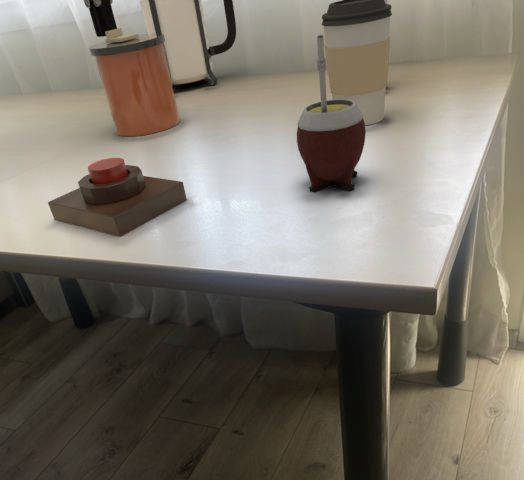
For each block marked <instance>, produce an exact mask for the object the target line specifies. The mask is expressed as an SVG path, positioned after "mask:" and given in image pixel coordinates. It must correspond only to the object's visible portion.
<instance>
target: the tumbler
mask: <svg viewBox="0 0 524 480" xmlns="http://www.w3.org/2000/svg"><path fill="white" fill-rule="evenodd" d="M138 36H139V37H138V38H134V39H131V40H127V41H123V42H113V43H106V42H105V41H103V42H99V43H95V44H93V45H91V46H89V47H88V50H89V54H90V56H92V57H94V59H95V63H96V67H97V71H98V74H99V77H100V80H101V84H102V87H103V91H104V94H105V97H106V101H107V104H108V107H109V111H110V114H111V115H110V116H111V118H112V121H113V124H114V128H115V132H116V134H117V136H120V137H139V136H146V135H152V134H157V133H159V132H163V131H166V130H168V129H171V128H173V127H175V126H177V125H178V124H179V123H180V121H181V120H180V114H179V110H178V105H177V101H176V97H175V92H174V91H173V87H172V82H171V78H170V73H169V69H168V64H167V60H166V55H165V51H164V46H163V43H164V42H165V41H166V40H165V36H164V34H163V33H151V34H148V33H143V34H138Z"/></svg>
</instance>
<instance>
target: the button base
mask: <svg viewBox="0 0 524 480" xmlns="http://www.w3.org/2000/svg"><path fill="white" fill-rule="evenodd" d="M125 165H126V168H127V172H128V176H127V177H125V178H123V179H121V180H118V181H115V182H111V183H105V184H93V183H92V180H91V177H90V174H89V173H88V174H86V175H84V176H83V177H81V178H80V179H79V180H78V181H77V184H78V188H75V189H74V190H71V191H70V192H67V193H65V194H63V195H60V196H58V197H56V198H54V199H51V200H49V201H47V205H48V207H49V210H50V212H51V214H52V217H53V219H54V221H58V222H62V223H64V224H68V225H72V226H75V227H80V228H83V229H88V230H93V231H96V232H98V233H99V232H100V233H104V234H108V235H110V236H116V237H119V238H122V237H123V236H125V235H126V234H128V233H131V232H132V231H134V230H136V229H137V228H139V227H141V226H143V225H145V224H147V223H148V222H150V221H152V220H154V219H156V218H157V217H160V216H161V215H163V214H164V213H165V214H166V213H167V212H168V211H170V210H173V209H174V208H175V207H177V206H179V205H182V204H183V203H185V202H186V201H188V198H187V194H186V189H185V185H184V182H183V181H180V180H173V179H167V178H161V177H153V176H147V175H144V174H143V171H142V169H141V168H140V167H139V165H138V166H137V165H132V164H125Z"/></svg>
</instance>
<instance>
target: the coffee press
mask: <svg viewBox="0 0 524 480" xmlns="http://www.w3.org/2000/svg"><path fill="white" fill-rule="evenodd" d="M139 2H140V3H139V4H140V6H141V11H142V15H143V19H144V24H145V29H146V32H147V33H146V34H151V33H163V34H164V36H165V40H166V41H165V42H164V43H163V46H164V51H165V55H166V60H167V64H168V69H169V73H170V78H171V82H172V87H173V91H174V93H175V92H176V89H177V87H178V86H180V85H183V84H190V83H194V82H198V81H204V82H206V83H207V84H208V85H209V86H211V87H213V86H215V85H217V84H218V78H217V76H216V75H215V74H214V72H213V70H214V69H213V61H212V57H213V56H217V55H220V54H224V53H226V52H228V51H229V50H230V49H231V48H232V47H233V45H234V44H235V42H236V37H237V24H236V23H237V22H236V16H235V15H236V14H235V7H234V2H233V0H223V2H222V3H223V9H224V14H225V20H226V27H227V34H226V38H225V40H224V41H223V42H222V43H220V44H216V45H212V46H211V45H210V44H209V37H208V33H207V28H206V22H205V17H204V10H203V4H202V0H139ZM208 77H210V78H211V79H210V78H208Z"/></svg>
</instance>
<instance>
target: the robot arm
mask: <svg viewBox="0 0 524 480" xmlns="http://www.w3.org/2000/svg"><path fill="white" fill-rule="evenodd" d="M83 4H84V6H85V7H86V8H87V9H88V11H89V15H90V18H91V21H92V26H93V28H94V29H93V30H94V33H95V35H96V37H98V38H101V37H103V38H104V37H106V34H105V32H106V31H110V30H114V29H118V26H117V22H116V18H115V15H114V11H113V8H112V4H113V0H83Z"/></svg>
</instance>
